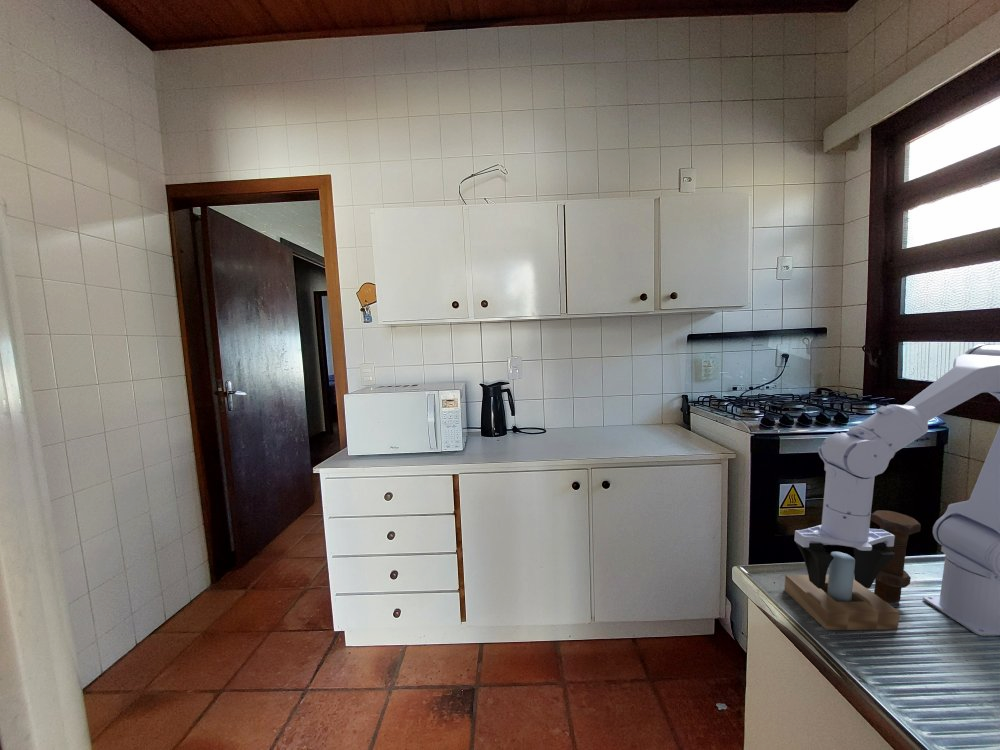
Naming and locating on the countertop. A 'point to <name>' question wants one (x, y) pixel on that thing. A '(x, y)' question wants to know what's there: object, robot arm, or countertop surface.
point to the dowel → (841, 577)
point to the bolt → (893, 572)
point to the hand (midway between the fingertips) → (839, 584)
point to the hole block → (842, 606)
